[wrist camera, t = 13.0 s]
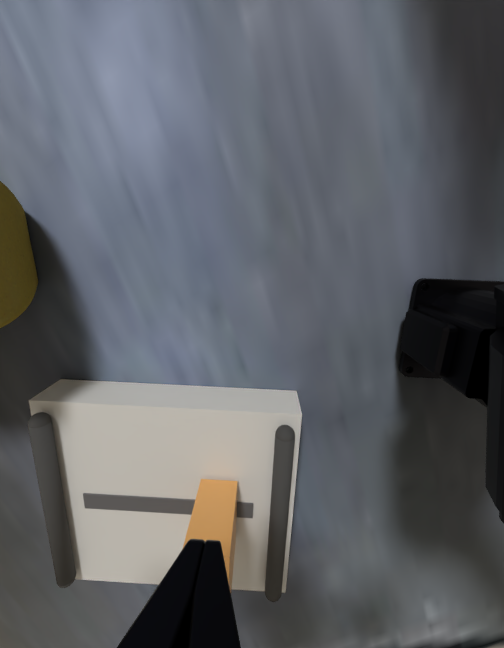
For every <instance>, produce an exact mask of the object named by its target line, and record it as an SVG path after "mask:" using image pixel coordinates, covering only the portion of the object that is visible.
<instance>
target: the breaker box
mask: <svg viewBox="0 0 504 648" xmlns="http://www.w3.org/2000/svg"><path fill="white" fill-rule="evenodd" d="M29 405H30V411H31V416H32V415H34V414H36V413H39V412H45V413H48V414H49V415H50V416H51V418H52V424H53V430H54V437H55V443H56V449H57V455H58V462H59V468H60V474H61V480H62V486H63V493H64V499H65V505H66V511H67V518H68V524H69V530H70V536H71V543H72V549H73V555H74V561H75V568H76V577H75V579H82V580H97V581H112V582H128V583H143V584H158V585H159V584H160V582H161V581H162V579H163V578H164V576H165V575H166V573H167V572H168V570H169V569H170V567H171V566H172V564H173V563H174V561H175V560H176V558H177V557H178V555H179V554H180V552H181V551H182V549H183V545H184V541H185V538H186V534H187V530H188V526H189V522H190V519H191V515H192V511H193V507H194V503H195V499H196V496H197V492H198V488H199V484H200V480H201V479H211V480H229V481H238V483H237V517H236V544H235V555H234V566H233V578H232V589H235V590H251V591H265V579H266V564H267V549H268V534H269V519H270V504H271V489H272V474H273V459H274V444H275V432H276V430H277V428H278V427H279V426H281V425H289V426H290V427H292V428H293V430H294V432H295V445H294V456H293V468H292V479H291V490H290V502H289V513H288V525H287V536H286V548H285V559H284V571H283V582H282V593H286V582H287V571H288V561H289V550H290V539H291V528H292V517H293V506H294V496H295V485H296V474H297V463H298V452H299V441H300V431H301V420H302V412H301V408H300V404H299V400H298V395H297V391H290V390H270V389H250V388H230V387H210V386H189V385H169V384H149V383H129V382H109V381H88V380H68V379H60V380H59V381H57V382H56V383H54V384H53V385H51V386H49V387H48V388H46V389H45V390H43V391H42V392H40V393H39V394H37V395H36V396H34V397H33V398H31V399H30V400H29Z"/></svg>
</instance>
